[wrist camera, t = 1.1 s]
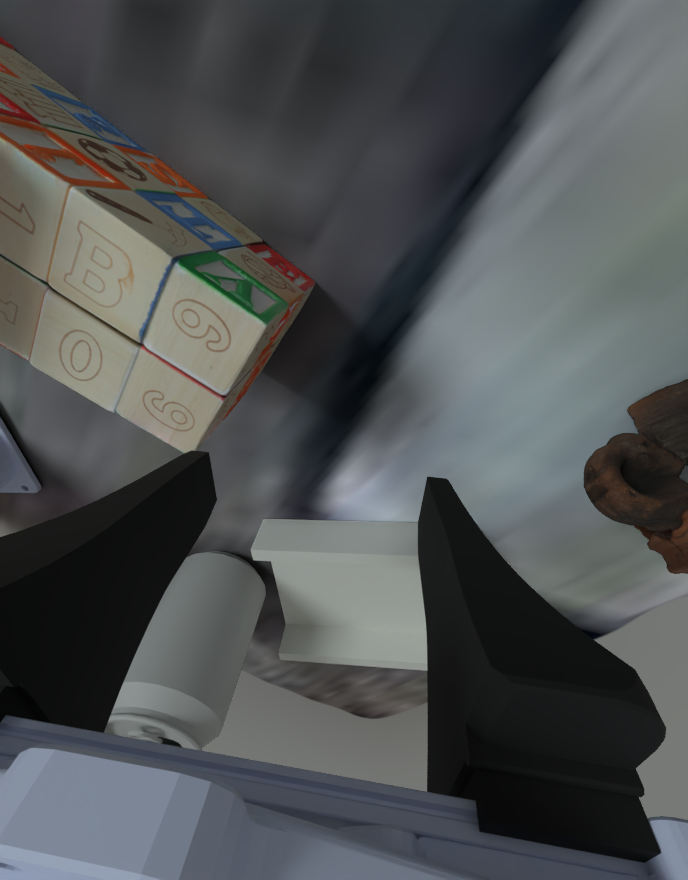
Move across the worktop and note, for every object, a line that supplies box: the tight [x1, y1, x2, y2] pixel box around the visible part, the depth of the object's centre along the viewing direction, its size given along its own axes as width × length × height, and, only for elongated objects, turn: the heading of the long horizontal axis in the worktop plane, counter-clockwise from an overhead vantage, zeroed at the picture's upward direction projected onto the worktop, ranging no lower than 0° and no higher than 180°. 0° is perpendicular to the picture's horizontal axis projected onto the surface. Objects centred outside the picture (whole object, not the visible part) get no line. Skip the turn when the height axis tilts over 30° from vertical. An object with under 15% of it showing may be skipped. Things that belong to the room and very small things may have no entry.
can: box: [104, 551, 266, 751], centre depth 27 cm, size 8×8×12 cm
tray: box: [251, 519, 427, 671], centre depth 29 cm, size 15×13×3 cm
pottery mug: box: [584, 379, 688, 574], centre depth 20 cm, size 12×9×8 cm
